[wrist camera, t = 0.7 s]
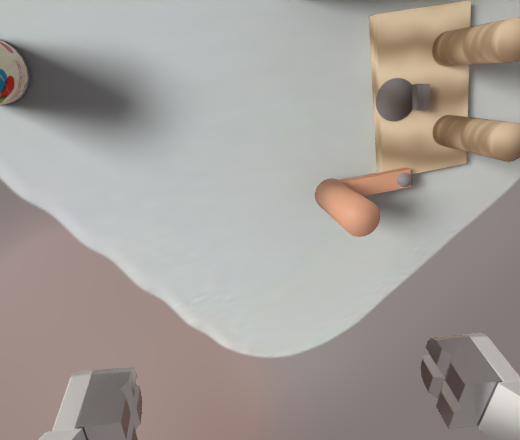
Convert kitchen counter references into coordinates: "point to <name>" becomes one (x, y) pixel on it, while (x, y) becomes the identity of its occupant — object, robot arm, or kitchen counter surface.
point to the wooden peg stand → (436, 87)
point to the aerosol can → (12, 74)
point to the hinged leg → (359, 198)
